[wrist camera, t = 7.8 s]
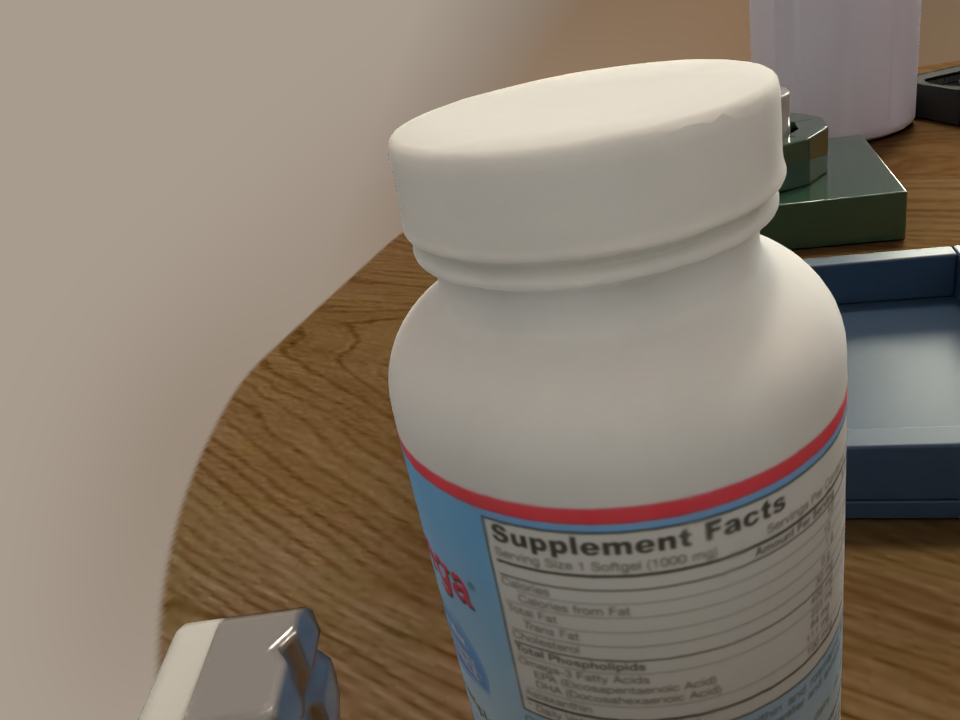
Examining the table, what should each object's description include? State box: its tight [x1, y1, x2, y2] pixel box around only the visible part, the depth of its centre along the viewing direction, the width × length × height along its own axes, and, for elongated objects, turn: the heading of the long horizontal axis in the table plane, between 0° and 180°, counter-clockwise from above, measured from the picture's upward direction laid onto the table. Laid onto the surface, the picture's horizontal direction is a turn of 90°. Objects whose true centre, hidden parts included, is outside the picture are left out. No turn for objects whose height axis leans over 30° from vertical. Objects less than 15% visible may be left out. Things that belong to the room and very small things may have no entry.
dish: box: [802, 245, 960, 518], centre depth 24 cm, size 16×12×2 cm
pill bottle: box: [388, 59, 848, 720], centre depth 12 cm, size 6×6×11 cm
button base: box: [760, 113, 907, 249], centre depth 38 cm, size 12×10×4 cm
